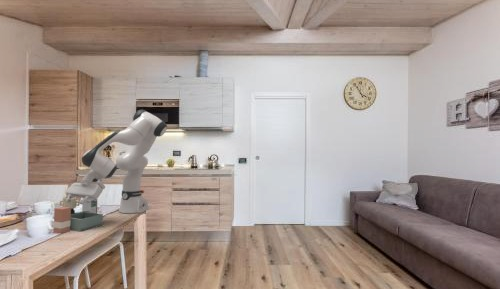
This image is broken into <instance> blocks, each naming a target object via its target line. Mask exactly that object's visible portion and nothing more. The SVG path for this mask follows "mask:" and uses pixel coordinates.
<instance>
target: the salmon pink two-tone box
mask: <svg viewBox="0 0 500 289" xmlns="http://www.w3.org/2000/svg"><path fill="white" fill-rule="evenodd" d="M53 212H54V213H53V231H52V232H53V233H55V234H60V233H61V234H65V233H69V232H70V231H71V230H70V221H71V220H70V218H71V208H70V207H62V206H60V207H56V208H54V209H53Z"/></svg>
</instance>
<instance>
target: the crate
mask: <svg viewBox="0 0 500 289" xmlns="http://www.w3.org/2000/svg"><path fill="white" fill-rule="evenodd" d="M103 217H104V214H103V213H98V212H97V213H90V212H82V211H81V212H76V213H75V214H71V218H70V220H71V221H70V231H75V232H84V231H87V230H90V229H94V228H97V227H99V226H103V220H104V218H103Z"/></svg>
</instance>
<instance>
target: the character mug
mask: <svg viewBox="0 0 500 289" xmlns="http://www.w3.org/2000/svg"><path fill="white" fill-rule="evenodd" d="M67 199H68V196H64V197H62V199H60V200H59V206H60V207H70V208H71V214H75V208H77V207H79V206H80V205H81V204H80V202H81V200H79V199H78V197H73V198H71V202H70V203H67V202H66V200H67Z"/></svg>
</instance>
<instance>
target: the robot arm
mask: <svg viewBox="0 0 500 289" xmlns="http://www.w3.org/2000/svg"><path fill="white" fill-rule="evenodd" d="M132 120H133V121H132V122H131V123H130V124H129V125H128V126H127V127H126V128H125V129H122V130H119V129H118V130H116V131H114V132H112V133H111V134H110V135H108V136H107V137H105V138H103V139H102V140H101V141H100V142H99V143H98V144H97V145H95V146H94V147H92V148H90V149H89V150H87V151H85V152H84V153H83V154H82V157H81V163H82V164H83V166H85V167H87V168H90V170H89V171H88V172H87V173H86V175H84V177H83V178H82V179H81V181H76V182H74V183H72V184H71V185H69V187H67V189H66V190H65V191H64V192H65V195H66V196H67V197H68V199H67V200H66V202H67V203H70V202H71V198H73V197H77V198H82V199H81V200H80V205H81V206H82V205H84V204H85V202H87V201H88V200H90V199H96V198H97V199H98V198H99V197H100V195H101V194H102V193H103V190H105V189H106V185H105V184H104V183H103V182H102V181H103V179H110V178H112V176H114V174H115V172H116V171H117V169H119V170H121V171H125V172H126V171H127V173H126V175H125V176H124V177H123V180H122V191H121V199H120V206H119V208H118V212H119V213H122V214H137V213H138V214H140V213H144V212H146V211H149V210H151V209H152V206H150V205H149V202H148V199H147V198H146V197H144V196H143V195H142V194H144V193H145V189H144V190H143V189H142V190H141V181H142V176H143V173H144V171H145V168H146V167H147V166H148V163H149V160H148V158H147V157H146V154H148V153H149V152H150V150H151V148H152V146H153V144H154V143H155V141H156V139H157V137H162V136H164V134H165V133H166V131H167V130H168V125H167V123H166V122H165V121H163V120H162V119H160V118H159V117H157V116H156V115H154V114H152V113H151V112H148V111H147V110H145V109H139V110H137V111H136V112H134V114H133V116H132ZM112 143H119V144H123V145H126V146H130V147H129V148H128V149H127V150H126V151H125V152H124V153H123V154H121V155H119V156H118V157H117V158H116V161H113V160H112V159H110V158H108V157H107V156H105V155H104V154H103V153H102V151H104V149H105V148H107V147H108V146H110V144H112ZM83 198H85V199H83Z"/></svg>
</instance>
